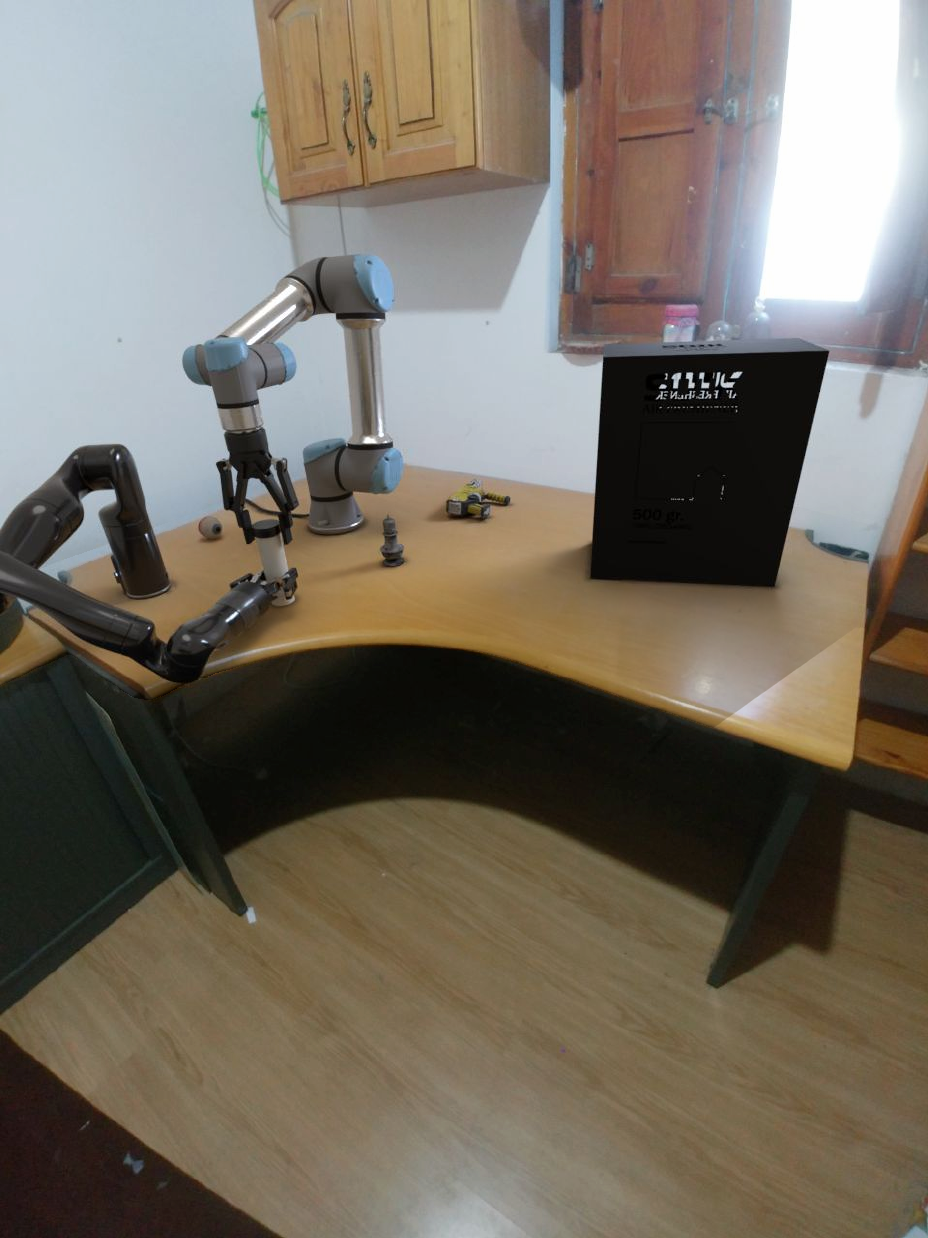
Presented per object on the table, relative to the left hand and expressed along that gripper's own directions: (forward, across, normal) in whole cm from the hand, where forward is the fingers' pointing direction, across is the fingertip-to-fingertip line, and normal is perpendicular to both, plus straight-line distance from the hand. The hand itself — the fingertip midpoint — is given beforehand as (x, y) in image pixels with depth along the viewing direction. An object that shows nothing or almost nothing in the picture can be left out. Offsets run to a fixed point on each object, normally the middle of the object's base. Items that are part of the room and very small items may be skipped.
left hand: (283, 570), depth 130 cm
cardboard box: (+28, +83, -6) cm, 88 cm away
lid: (-3, 0, +11) cm, 12 cm away
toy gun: (+61, +30, -6) cm, 68 cm away
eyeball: (+28, -38, -6) cm, 48 cm away
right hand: (-3, 0, +8) cm, 8 cm away
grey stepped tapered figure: (+20, +17, -6) cm, 27 cm away
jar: (-3, 0, -6) cm, 7 cm away
